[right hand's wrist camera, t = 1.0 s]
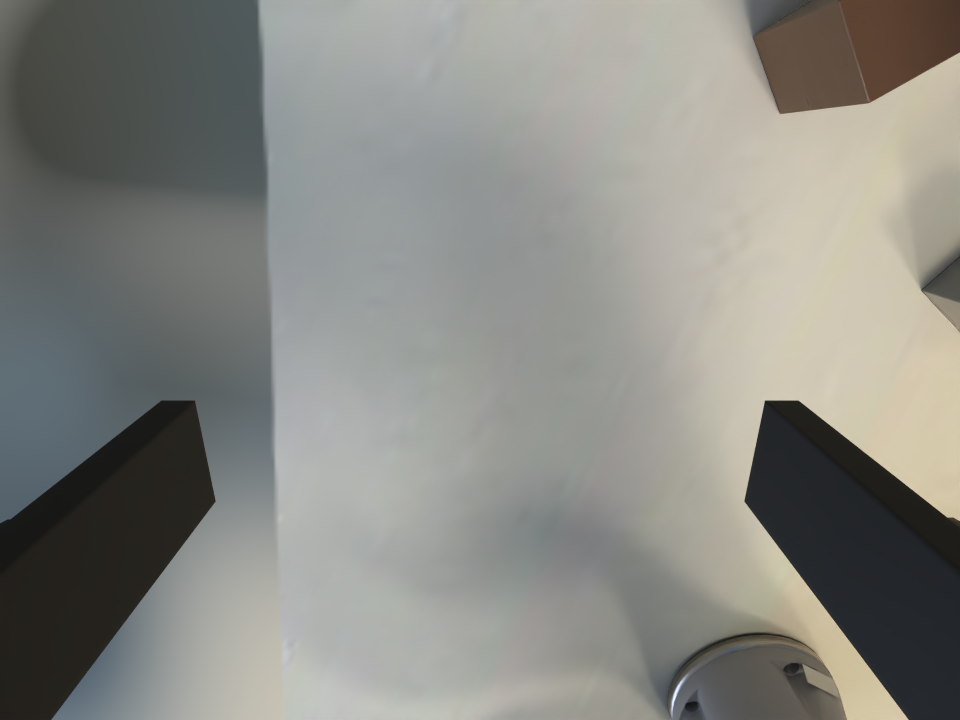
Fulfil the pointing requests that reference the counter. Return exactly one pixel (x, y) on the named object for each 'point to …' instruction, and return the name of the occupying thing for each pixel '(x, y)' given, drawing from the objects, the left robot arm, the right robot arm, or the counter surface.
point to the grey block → (947, 292)
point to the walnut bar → (855, 49)
